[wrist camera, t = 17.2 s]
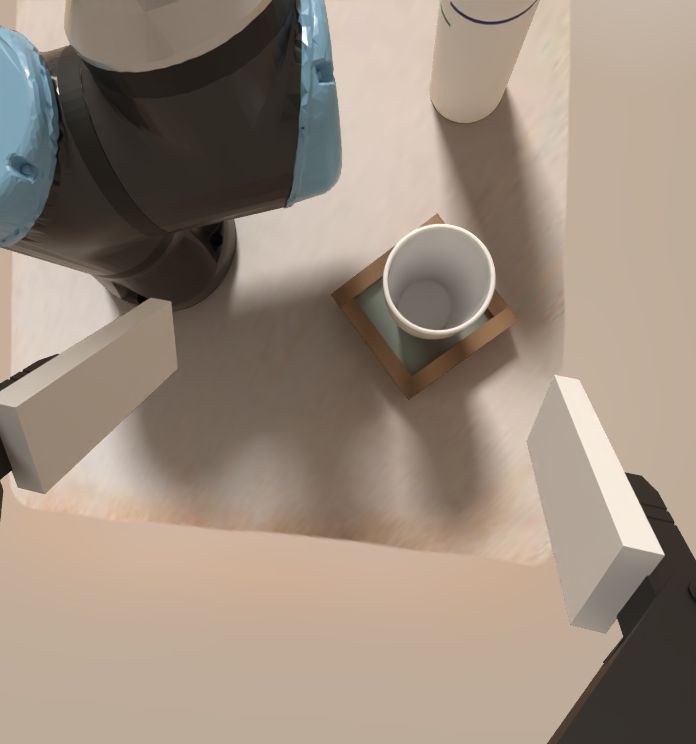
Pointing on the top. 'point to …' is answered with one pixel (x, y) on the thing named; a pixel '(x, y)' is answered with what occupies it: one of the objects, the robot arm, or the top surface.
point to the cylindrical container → (476, 54)
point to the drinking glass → (438, 281)
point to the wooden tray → (403, 351)
